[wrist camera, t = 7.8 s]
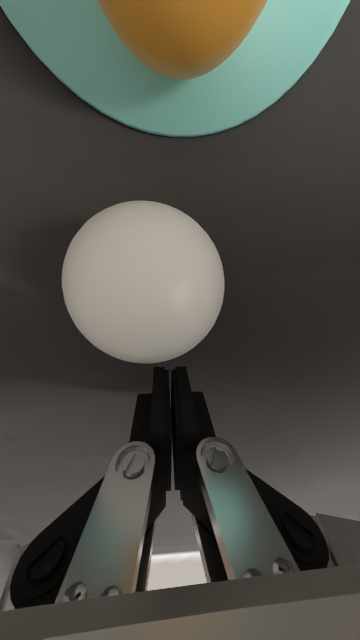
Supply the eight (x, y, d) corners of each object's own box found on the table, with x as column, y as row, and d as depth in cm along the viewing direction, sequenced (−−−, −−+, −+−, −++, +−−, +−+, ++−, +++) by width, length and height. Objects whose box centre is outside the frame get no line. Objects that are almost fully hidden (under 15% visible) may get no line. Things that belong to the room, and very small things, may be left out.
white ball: (297, 292, 4) (231, 226, 8) (5, 160, 3) (104, 159, 7) (189, 404, 7) (180, 315, 12) (25, 378, 6) (84, 285, 10)
